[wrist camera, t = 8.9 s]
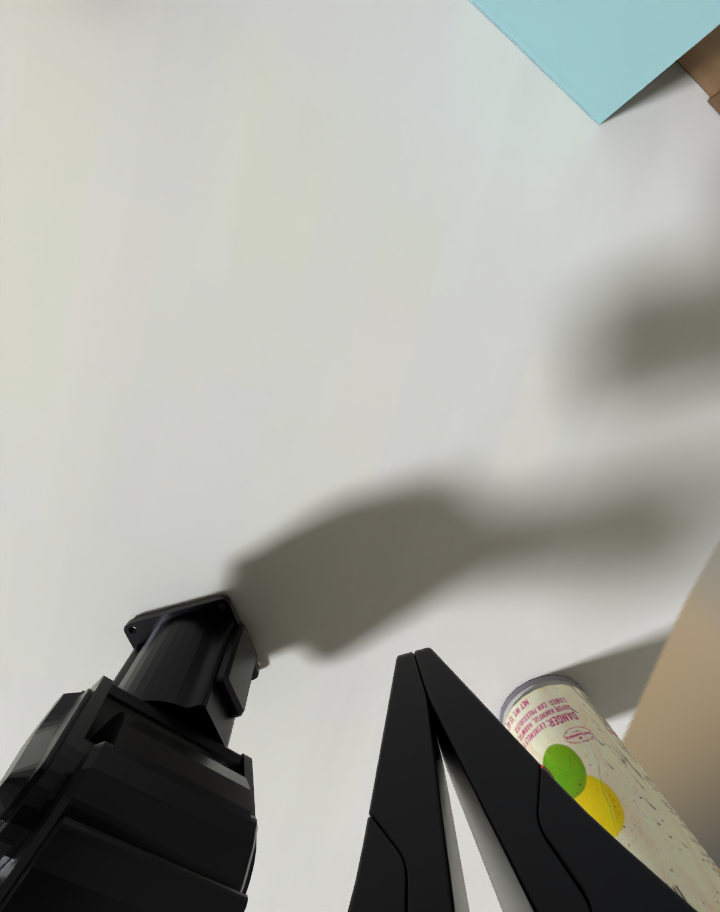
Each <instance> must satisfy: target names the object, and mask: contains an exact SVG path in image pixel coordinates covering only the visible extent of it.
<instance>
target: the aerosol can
mask: <svg viewBox="0 0 720 912" xmlns="http://www.w3.org/2000/svg"><path fill="white" fill-rule="evenodd" d="M500 722H501V723H502V724H503V725H504V726H505V727H506V728H507V729H508V730H509V732H510V733H511V734H512V735H513V736H514V737H515V738H516V739H517V740H518V741H519V742H520V743H521V744H522V745H523V746H524V747H525V748H526V750H527V751H528V752H529V753H530V754H531V755H532V756H533V757H534V758H535V759H536V760H537V761H538V762H539V763H540V765H541V768H544V769H546V770H547V772H548V773H549V774H550V775H551V776H552V777H553V778H554V779H555V780H556V781H557V782H558V783H559V784H560V785H561V786H562V787H563V788H564V789H565V790H566V791H567V792H568V793H569V794H570V795H571V796H572V797H573V798H574V799H575V800H576V802H577V803H578V804H579V805H580V806H581V807H582V808H583V809H584V810H585V811H586V812H587V813H588V814H590V815H591V816H592V817H593V818H594V819H595V820H596V821H597V822H598V823H599V824H600V825H601V826H603V827H604V828H605V829H606V830H607V831H608V832H609V833H610V834H611V835H612V836H613V837H614V838H616V839H617V840H618V841H619V842H620V843H621V844H622V845H623V846H624V847H625V848H627V849H628V850H629V851H630V852H631V853H632V854H633V855H634V856H636V857H637V858H638V859H639V860H640V861H641V862H642V863H644V864H645V865H646V866H647V867H648V868H649V869H650V870H651V871H653V872H654V873H655V874H656V875H657V876H658V877H659V878H660V879H662V880H663V881H664V882H665V883H666V884H667V885H668V886H669V887H671V888H672V889H673V890H674V891H675V892H676V893H677V894H678V895H680V896H681V897H682V898H683V899H684V900H685V901H686V902H687V903H689V904H690V905H691V906H692V907H693V908H694V909H695V910H696V911H698V912H720V870H719V869H718V867H717V866H716V865H715V863H714V862H713V861H712V859H711V858H710V857H709V856H708V854H707V853H706V851H705V850H704V849H703V847H702V846H701V845H700V844H699V842H698V841H697V840H696V838H695V837H694V836H693V834H692V833H691V832H690V831H689V829H688V828H687V827H686V825H685V824H684V823H683V821H682V820H681V819H680V818H679V816H678V815H677V813H676V812H675V811H674V809H673V808H672V807H671V806H670V804H669V803H668V802H667V800H666V799H665V798H664V796H663V795H662V794H661V793H660V791H659V790H658V789H657V787H656V786H655V785H654V783H653V782H652V781H651V779H650V778H649V777H648V775H647V774H646V773H645V772H644V770H643V769H642V768H641V766H640V765H639V764H638V762H637V761H636V760H635V758H634V757H633V756H632V754H631V753H630V752H629V751H628V750H627V748H626V747H625V745H624V744H623V743H622V741H621V740H620V739H619V737H618V736H617V735H616V733H615V732H614V731H613V730H612V728H611V727H610V726H609V724H608V723H607V722H606V720H605V719H604V718H603V716H602V715H601V714H600V713H599V711H598V710H597V709H596V707H595V706H594V705H593V703H592V702H591V701H590V699H589V698H588V697H587V695H586V694H585V693H584V692H583V690H582V689H581V688H580V686H579V685H578V684H577V683H576V682H574V681H572V680H571V679H569V678H567V677H562V676H557V675H553V676H542V677H539V678H536V679H533V680H530V681H528V682H526V683H524V684H523V685H521V686H520V687H518V688H516V689H515V690H514V692H513V693H512V694H511V695H510V696H509V697H508V698H507V699H506V701H505V703H504V705H503V707H502V709H501V714H500Z"/></svg>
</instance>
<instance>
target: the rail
mask: <svg viewBox="0 0 720 912" xmlns="http://www.w3.org/2000/svg"><path fill="white" fill-rule="evenodd" d="M677 61H678V62H679V63H680V64H681V66H682V67H683V68H684V69H685V70H686V71H687V72H688V73H689V74H690V75H691V76H692V78H693V79H694V80H695V81H696V82H697V83H698V84H699V85H700V86H701V87H702V88H703V90H704V91H705V92H706V93H707V94H708V95H709V96H710V98H709V100H708V102H709V103H710V105H711V106H712V107H713V108H714V109H715V110H716V111H717V112H718V113H719V114H720V25H718V26H717V27H716V28H715V29H713V30H712V31H711V32H710V33H709V34H707V35H706V36H705V37H704V38H703V39H701V40H700V41H699V42H698V43H697V44H695V45H694V46H693V47H692V48H691V49H689V50H688V51H687V52H686V53H685V54H683V55H682V56H681V57H680V58H679V59H677Z"/></svg>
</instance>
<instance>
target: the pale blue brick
mask: <svg viewBox="0 0 720 912" xmlns="http://www.w3.org/2000/svg"><path fill="white" fill-rule="evenodd" d="M470 1H471V2H472V3H473V4H474V5H475V6H476V7H477V8H478V9H479V10H480V11H481V12H483V13H484V14H485V15H486V16H487V17H488V18H489V19H490V20H491V21H492V22H493V23H494V24H495V25H496V26H497V27H498V28H499V29H500V30H501V31H502V32H503V33H504V34H505V35H506V36H507V37H508V38H509V39H511V40H512V41H513V42H514V43H515V44H516V45H517V46H518V47H519V48H520V49H521V50H522V51H523V52H524V53H525V54H526V55H527V56H528V57H529V58H530V59H531V60H532V61H533V62H534V63H535V64H536V65H537V66H539V67H540V68H541V69H542V70H543V71H544V72H545V73H546V74H547V75H548V76H549V77H550V78H551V79H552V80H553V81H554V82H555V83H556V84H557V85H558V86H559V87H560V88H561V89H562V90H563V91H564V92H565V93H567V94H568V95H569V96H570V97H571V98H572V99H573V100H574V101H575V102H576V103H577V104H578V105H579V106H580V107H581V108H582V109H583V110H584V111H585V112H586V113H587V114H588V115H589V116H590V117H591V118H592V119H593V120H595V121H596V122H597V123H598V124H601V123H602V122H603V121H604V120H605V119H607V118H608V117H609V116H610V115H611V114H613V113H614V112H615V111H616V110H617V109H619V108H620V107H621V106H622V105H623V104H625V103H626V102H627V101H628V100H629V99H631V98H632V97H633V96H634V95H635V94H637V93H638V92H639V91H640V90H641V89H643V88H644V87H645V86H646V85H647V84H649V83H650V82H651V81H652V80H653V79H655V78H656V77H657V76H658V75H659V74H661V73H662V72H663V71H664V70H665V69H667V68H668V67H669V66H670V65H671V64H673V63H674V62H675V61H676V60H677V59H679V58H680V57H681V56H682V55H683V54H685V53H686V52H687V51H688V50H689V49H691V48H692V47H693V46H694V45H695V44H697V43H698V42H699V41H700V40H701V39H703V38H704V37H705V36H706V35H707V34H709V33H710V32H711V31H712V30H713V29H715V28H716V27H717V26H718V25H720V0H470Z"/></svg>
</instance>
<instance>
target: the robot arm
mask: <svg viewBox="0 0 720 912" xmlns="http://www.w3.org/2000/svg"><path fill="white" fill-rule="evenodd" d="M219 603H224V604H225V605H220V604H219ZM133 627H136V628H137V629H135V628H133ZM124 632H125V634H126V636H127V637H128V639H129V641H130V643H131V645H132V647H133V648H134V650H133V652H132V653H131V655H130V656H129V658H128V659H127V661H126V662H125V664H124V666H123V667H122V669H121V670H120V672H119V673H118V675H117V676H116V678H115V680H114V681H112V680H111V679H109V678H107V677H105V676H103V677H102V678H101V679H100V680H99V681H98V682H97V683H96V684H95V685H94V686H93V687H92V688H91V689H87V690H86V691H82V692H79V693H67V694H63V695H62V696H61V697H60V699H59V700H58V701H57V702H56V703H55V704H54V705H53V707H52V708H51V709H50V711H49V712H48V713H47V715H46V716H45V717H44V718H43V720H42V721H41V722H40V724H39V725H38V726H37V728H36V729H35V730H34V732H33V733H32V734H31V736H30V737H29V738H28V740H27V741H26V742H25V744H24V745H23V747H22V748H21V750H20V751H19V753H18V754H17V756H16V758H15V759H14V761H13V762H12V764H11V766H10V767H9V769H8V770H7V772H6V774H5V775H4V777H3V778H2V780H1V782H0V912H244V911H245V908H246V906H247V902H248V896H247V895H246V892H247V889H248V886H249V882H250V879H251V875H252V871H253V866H254V861H255V854H256V835H257V819H256V817H255V803H254V785H253V768H252V758H250V757H248V756H246V755H245V754H241V755H240V754H238V753H236V752H234V751H233V750H231V749H229V748H228V744H229V740H230V736H231V732H232V728H233V724H234V720H235V718H236V717H239V716H241V715H242V714H243V712H244V710H245V705H246V701H247V696H248V692H249V688H250V683H251V680H254V679H256V678H257V677H258V674H259V665H258V663H257V661H256V657H257V653H256V651H255V649H254V646H253V644H252V641H251V639H250V637H249V634H248V632H247V629H246V627H245V625H244V624H242V623H240V620H239V618H238V615H237V613H236V611H235V608H234V606H233V603H232V601H231V599H230V598H229V597H228V596H225V595H220V596H216V597H212V598H209V599H205V600H201V601H197V602H194V603H190V604H186V605H183V606H179V607H175V608H171V609H168V610H164V611H160V612H156V613H153V614H149V615H145V616H142V617H138V618H134V619H131V620H130V621H129V622H128V623H127V624H126V626H125V627H124ZM414 655H415V656H414ZM438 743H439V744H438ZM439 747H440V748H439ZM440 750H441V752H440ZM441 753H442V756H441ZM442 757H443V760H444V762H445V765H446V768H447V771H448V773H449V776H450V778H451V781H452V783H453V786H454V788H455V791H456V793H457V796H458V799H459V801H460V804H461V806H462V809H463V811H464V814H465V816H466V819H467V822H468V824H469V827H470V829H471V832H472V834H473V837H474V839H475V842H476V845H477V847H478V850H479V852H480V855H481V857H482V860H483V862H484V865H485V867H486V870H487V873H488V875H489V878H490V880H491V883H492V885H493V888H494V890H495V893H496V896H497V898H498V901H499V903H500V906H501V908H502V911H503V912H698V911H696V910H695V909H694V908H693V907H692V906H691V905H690V904H689V903H687V902H686V901H685V900H684V899H683V898H682V897H681V896H680V895H678V894H677V893H676V892H675V891H674V890H673V889H672V888H671V887H669V886H668V885H667V884H666V883H665V882H664V881H663V880H662V879H660V878H659V877H658V876H657V875H656V874H655V873H654V872H653V871H651V870H650V869H649V868H648V867H647V866H646V865H645V864H644V863H642V862H641V861H640V860H639V859H638V858H637V857H636V856H634V855H633V854H632V853H631V852H630V851H629V850H628V849H627V848H625V847H624V846H623V845H622V844H621V843H620V842H619V841H618V840H617V839H616V838H614V837H613V836H612V835H611V834H610V833H609V832H608V831H607V830H606V829H605V828H604V827H603V826H601V825H600V824H599V823H598V822H597V821H596V820H595V819H594V818H593V817H592V816H591V815H590V814H588V813H587V812H586V811H585V810H584V809H583V808H582V807H581V806H580V805H579V804H578V803H577V802H576V800H575V799H574V798H573V797H572V796H571V795H570V794H569V793H568V792H567V791H566V790H565V789H564V788H563V787H562V786H561V785H560V784H559V783H558V782H557V781H556V780H555V779H554V778H553V777H552V776H551V775H550V774H549V773H548V772H547V770H546V769H544V768H541V765H540V763H539V762H538V761H537V760H536V759H535V758H534V757H533V756H532V755H531V754H530V753H529V752H528V751H527V750H526V748H525V747H524V746H523V745H522V744H521V743H520V742H519V741H518V740H517V739H516V738H515V737H514V736H513V735H512V734H511V733H510V732H509V730H508V729H507V728H506V727H505V726H504V725H503V724H502V723H501V722H500V721H499V720H498V719H497V718H496V717H495V716H494V715H493V714H492V712H491V711H490V710H489V709H488V708H487V707H486V706H485V705H484V704H483V703H482V702H481V701H480V700H479V699H478V698H477V697H476V695H475V694H474V693H473V692H472V691H471V690H470V689H469V688H468V687H467V686H466V685H465V684H464V683H463V682H462V681H461V680H460V679H459V677H458V676H457V675H456V674H455V673H454V672H453V671H452V670H451V669H450V668H449V667H448V666H447V665H446V664H445V663H444V662H443V661H442V659H441V658H440V657H439V656H438V655H437V654H436V653H435V652H434V651H433V650H432V649H431V648H424V649H421V650H417V651H415V653H414V654H413V653H412V652H410V653H406V654H403V655H399V656H398V657H397V659H396V665H395V670H394V676H393V682H392V687H391V693H390V698H389V704H388V710H387V715H386V721H385V726H384V732H383V737H382V743H381V749H380V754H379V760H378V765H377V771H376V777H375V782H374V788H373V793H372V799H371V805H370V810H369V815H370V817H369V818H368V820H367V826H366V831H365V837H364V842H363V847H362V852H361V857H360V862H359V867H358V872H357V877H356V881H355V885H354V889H353V893H352V897H351V901H350V905H349V909H348V912H470V911H469V906H468V900H467V894H466V889H465V883H464V877H463V872H462V866H461V860H460V855H459V849H458V843H457V838H456V832H455V826H454V821H453V815H452V809H451V804H450V798H449V793H448V787H447V781H446V776H445V770H444V765H443V760H442Z"/></svg>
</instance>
